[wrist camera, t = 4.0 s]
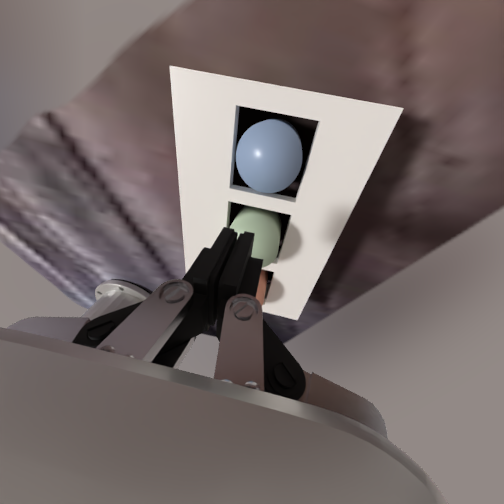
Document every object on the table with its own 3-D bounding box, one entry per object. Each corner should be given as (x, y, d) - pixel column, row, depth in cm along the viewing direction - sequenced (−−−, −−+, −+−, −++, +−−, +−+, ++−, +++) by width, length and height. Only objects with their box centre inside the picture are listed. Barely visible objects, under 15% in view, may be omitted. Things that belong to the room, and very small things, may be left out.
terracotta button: (264, 289, 25) (259, 316, 21) (229, 280, 25) (219, 305, 22) (272, 262, 22) (267, 288, 19) (232, 252, 22) (221, 276, 19)
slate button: (292, 183, 18) (291, 199, 15) (244, 172, 18) (233, 186, 15) (309, 124, 15) (312, 128, 12) (251, 112, 16) (239, 114, 12)
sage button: (275, 248, 21) (271, 273, 18) (233, 238, 21) (222, 262, 18) (286, 208, 18) (284, 230, 15) (238, 198, 18) (225, 217, 15)
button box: (297, 295, 27) (297, 320, 24) (200, 271, 28) (187, 292, 25) (380, 108, 14) (403, 108, 11) (196, 74, 15) (169, 65, 12)
